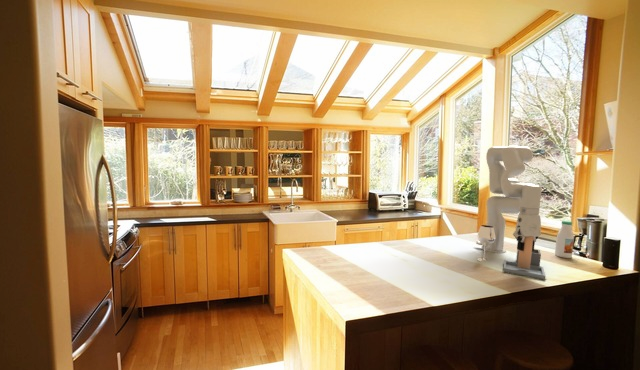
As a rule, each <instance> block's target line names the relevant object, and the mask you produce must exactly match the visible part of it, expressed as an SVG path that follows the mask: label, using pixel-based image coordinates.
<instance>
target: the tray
mask: <svg viewBox="0 0 640 370" xmlns="http://www.w3.org/2000/svg"><path fill="white" fill-rule="evenodd" d="M517 265H518V263H516V261H509V260H504V262H503V270H502V271H503V272H502V273H506V274H511V275H514V276H515V275H516V276H521V277H526V278H531V279H536V280H541V281H546V274H545V273H546V272H545V269H544V266H540V267H539V266H533V265H530V269H524V268H520V267H518V266H517Z"/></svg>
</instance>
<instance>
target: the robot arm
mask: <svg viewBox="0 0 640 370" xmlns="http://www.w3.org/2000/svg"><path fill="white" fill-rule="evenodd" d="M533 156H534V155H533V151H532V149H531V148H530V147H528V146H522V145H521V146H518V145H509V146H505V145H504V146H503V145H502V146H501V145H500V146H496V145H495V146H491V147H489V148H488V149H487V151H486V156H485V157H486V164H487V167H488V170H489V180H488V181H489V183H488V184H489V186H488V187H489V191H490V192H491V193H492V194H495V195H493V196H490V197H488V199H487V200H486V213H487V214H486V215H487V216H486V225H488V226H493V227H494V232H495V241H494V242H493V243H491V244H490V245H488V246H487V247H486V252H491V253H496V254H504V253H507V250H506V249H505V248H504V243H505V233H506V225H507V224H506V223H507V222H506V219H505V217H504V216H503V214H511V215H517V214H518V215H517V219H516V224H515V230H514V232H513V233H512V235H513V237H515V239H516V241H517V242H516V243H517V246H516V250H517V249H518V250H521V251H524V239H525V237H533V245H532V251H534V249H535V244H536V242H537V240H538V238H539V237H540V236H541V235H542V233H541V231H542V229H541V228H542V227H541V226H542V223H541V221H542V220H541V219H542V218H541V215H540V207H541V200H542V187H541V186H540V185H537V184H534V183H528V182H520V180H519V179H517V178H514V177H518V176H519V175H522V174H523V173H524V172H525V170H526V165H525V163H530V161H532V159H533ZM501 162H502V163H503V164H504V165H503V164H502V163H501ZM501 195H502V196H501ZM503 195H504V196H503ZM521 236H522V238H521ZM475 243H476V245H477V246H481V250H483V251H484V245H483V244H482V243H481V242H480V241H479V240H476V242H475Z"/></svg>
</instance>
